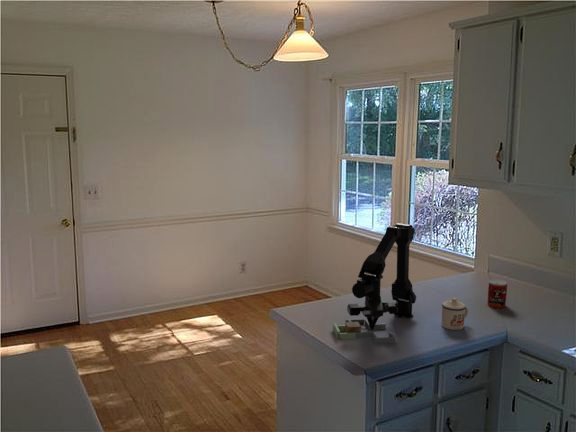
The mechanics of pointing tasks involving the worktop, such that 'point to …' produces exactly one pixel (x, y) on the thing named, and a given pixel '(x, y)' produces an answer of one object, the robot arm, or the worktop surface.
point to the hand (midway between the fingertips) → (371, 329)
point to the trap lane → (377, 340)
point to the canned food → (497, 293)
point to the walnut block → (352, 327)
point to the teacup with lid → (453, 314)
